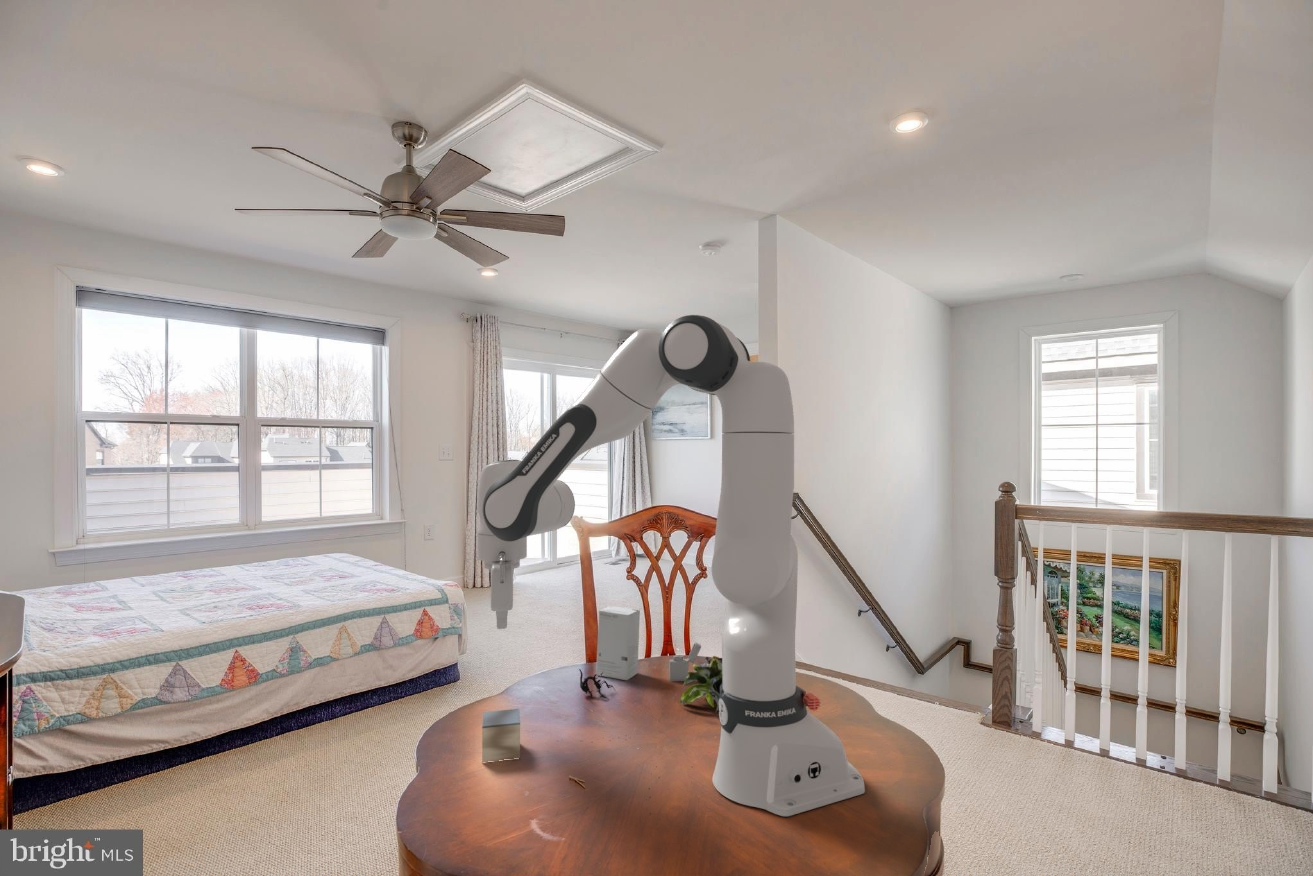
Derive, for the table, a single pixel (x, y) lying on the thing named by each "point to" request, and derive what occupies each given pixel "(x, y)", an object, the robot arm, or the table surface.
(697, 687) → the green leafy plant
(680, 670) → the lighter
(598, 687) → the creature
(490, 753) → the maple cube
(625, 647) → the skincare box
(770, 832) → the table surface
